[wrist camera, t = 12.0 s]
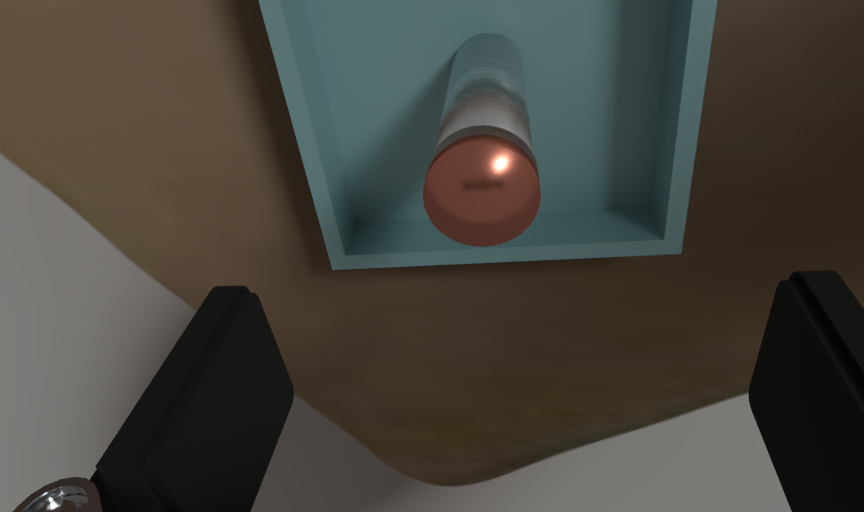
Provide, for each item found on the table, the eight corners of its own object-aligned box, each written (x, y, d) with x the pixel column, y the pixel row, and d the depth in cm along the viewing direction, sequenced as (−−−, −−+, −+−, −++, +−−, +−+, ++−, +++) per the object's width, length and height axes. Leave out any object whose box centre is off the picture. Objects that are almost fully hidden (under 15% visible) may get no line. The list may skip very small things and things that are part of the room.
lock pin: (524, 26, 24) (539, 139, 15) (526, 102, 26) (541, 244, 17) (446, 34, 24) (415, 148, 15) (453, 108, 26) (430, 249, 17)
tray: (710, -196, 20) (746, -202, 17) (663, 212, 29) (681, 253, 26) (260, -128, 22) (224, -122, 19) (347, 230, 31) (332, 269, 28)
